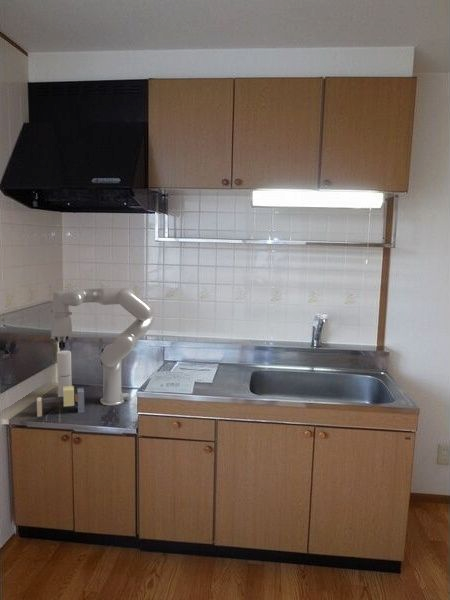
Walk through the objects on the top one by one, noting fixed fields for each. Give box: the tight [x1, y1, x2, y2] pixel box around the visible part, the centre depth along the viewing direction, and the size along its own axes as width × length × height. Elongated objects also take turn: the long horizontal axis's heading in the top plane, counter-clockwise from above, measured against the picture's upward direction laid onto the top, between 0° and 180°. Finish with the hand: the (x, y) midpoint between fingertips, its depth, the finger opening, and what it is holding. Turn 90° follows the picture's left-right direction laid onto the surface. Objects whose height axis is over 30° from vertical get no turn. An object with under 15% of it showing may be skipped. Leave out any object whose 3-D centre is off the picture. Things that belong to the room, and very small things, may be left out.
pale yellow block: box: [63, 385, 75, 407], centre depth 225 cm, size 5×6×8 cm
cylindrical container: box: [56, 350, 73, 397], centre depth 244 cm, size 7×7×25 cm
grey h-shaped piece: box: [36, 387, 85, 418], centre depth 224 cm, size 22×6×11 cm, turn 110°
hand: (62, 349), depth 233 cm, fingers closed
